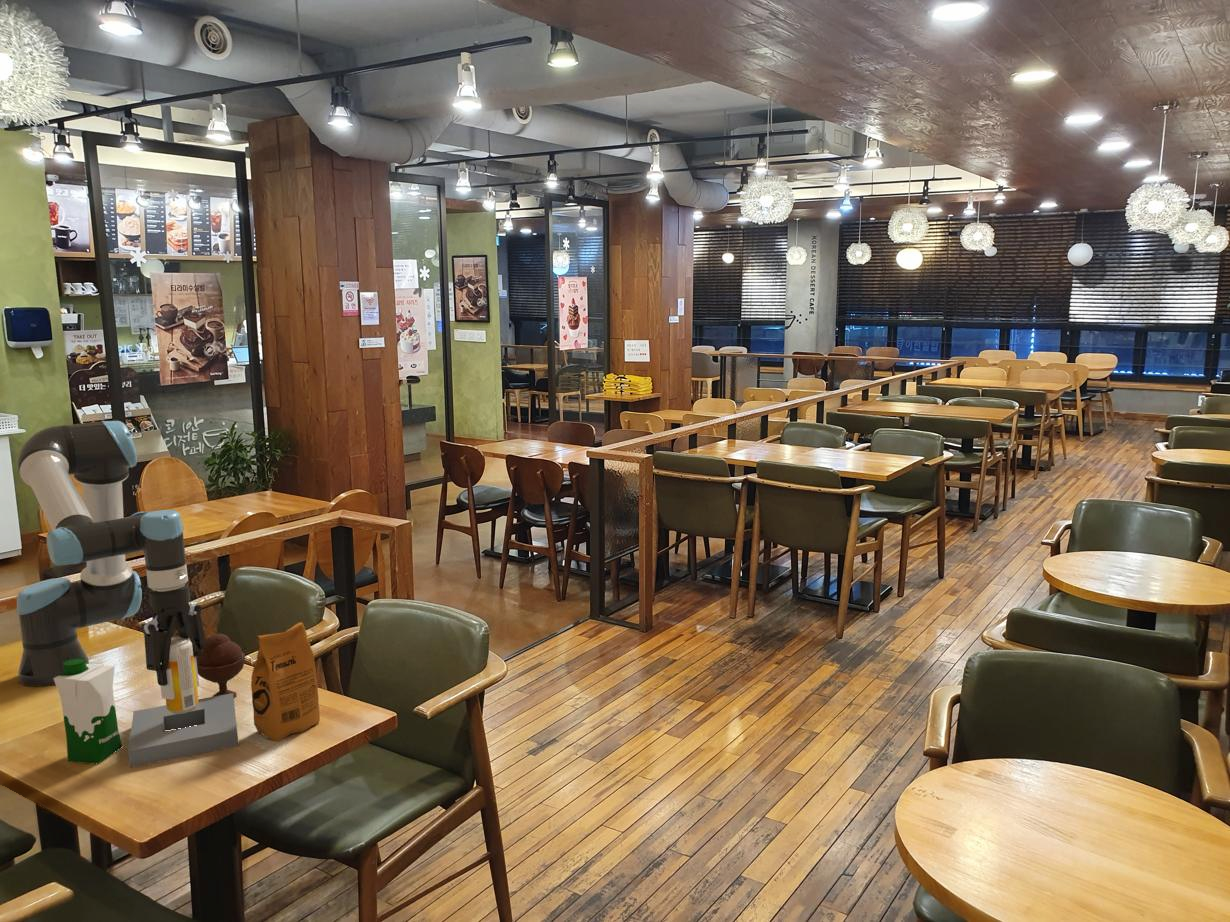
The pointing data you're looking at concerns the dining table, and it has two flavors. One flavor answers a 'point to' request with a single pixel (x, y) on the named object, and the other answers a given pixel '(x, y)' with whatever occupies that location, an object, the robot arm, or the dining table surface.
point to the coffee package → (284, 684)
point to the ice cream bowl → (220, 662)
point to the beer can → (182, 676)
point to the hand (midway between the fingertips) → (180, 691)
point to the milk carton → (88, 710)
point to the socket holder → (182, 731)
